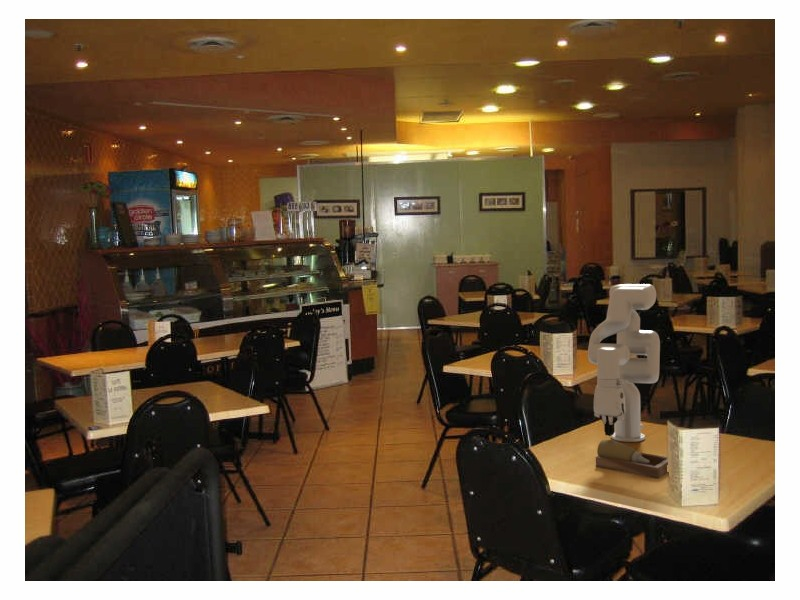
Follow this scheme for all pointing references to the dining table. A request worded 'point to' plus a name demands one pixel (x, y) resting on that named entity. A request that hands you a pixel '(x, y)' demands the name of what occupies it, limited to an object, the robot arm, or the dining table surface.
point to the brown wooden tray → (636, 465)
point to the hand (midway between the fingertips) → (609, 434)
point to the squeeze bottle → (620, 452)
